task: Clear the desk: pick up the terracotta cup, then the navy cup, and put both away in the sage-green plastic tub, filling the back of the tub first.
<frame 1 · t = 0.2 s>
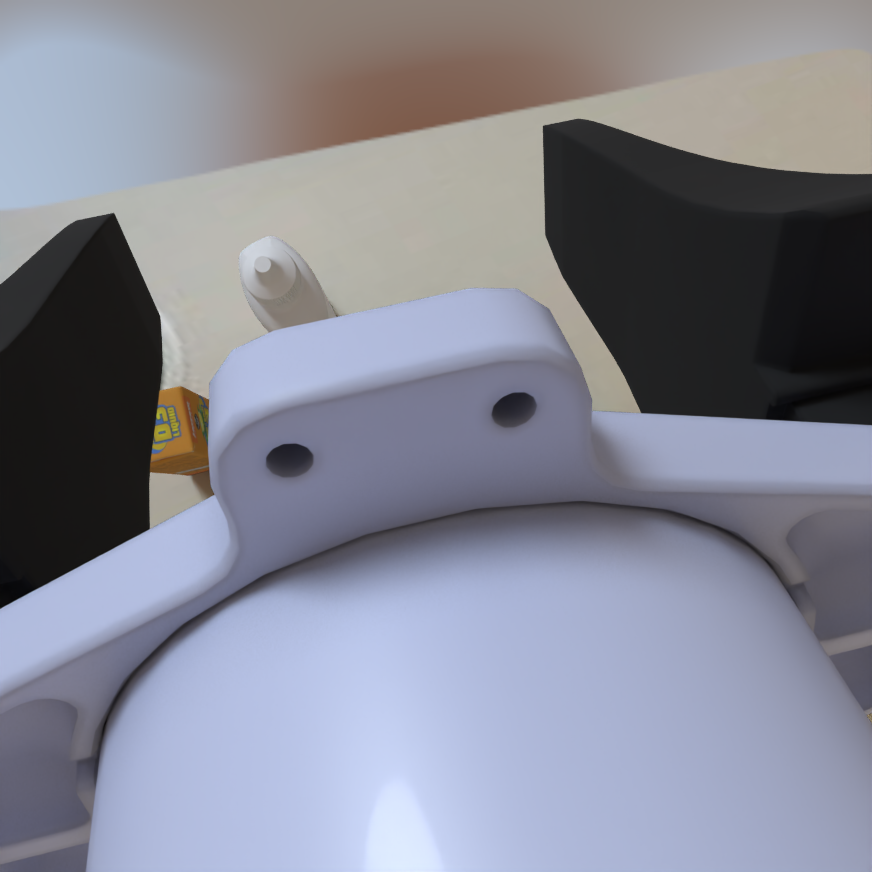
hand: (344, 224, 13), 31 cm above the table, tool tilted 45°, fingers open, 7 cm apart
eye dropper bottle: (306, 323, 45), on the table
supplement box: (211, 440, 44), on the table
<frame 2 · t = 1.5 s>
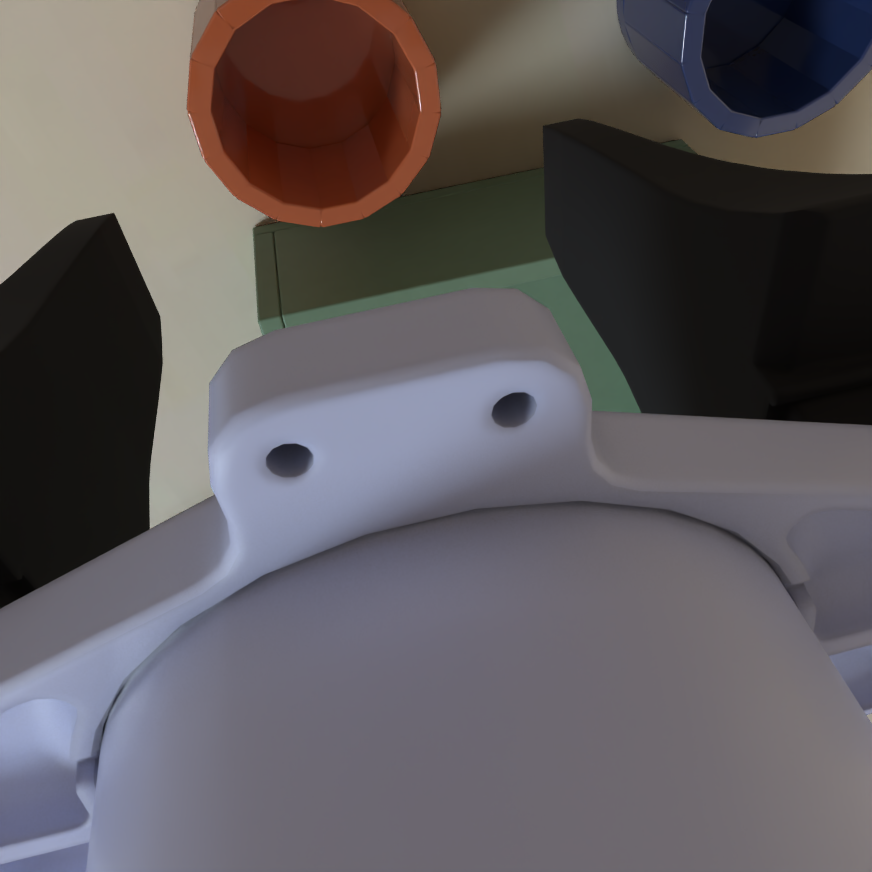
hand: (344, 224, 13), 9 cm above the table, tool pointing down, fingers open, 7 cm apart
terracotta cup: (304, 51, 20), on the table
sage tub: (490, 397, 29), on the table
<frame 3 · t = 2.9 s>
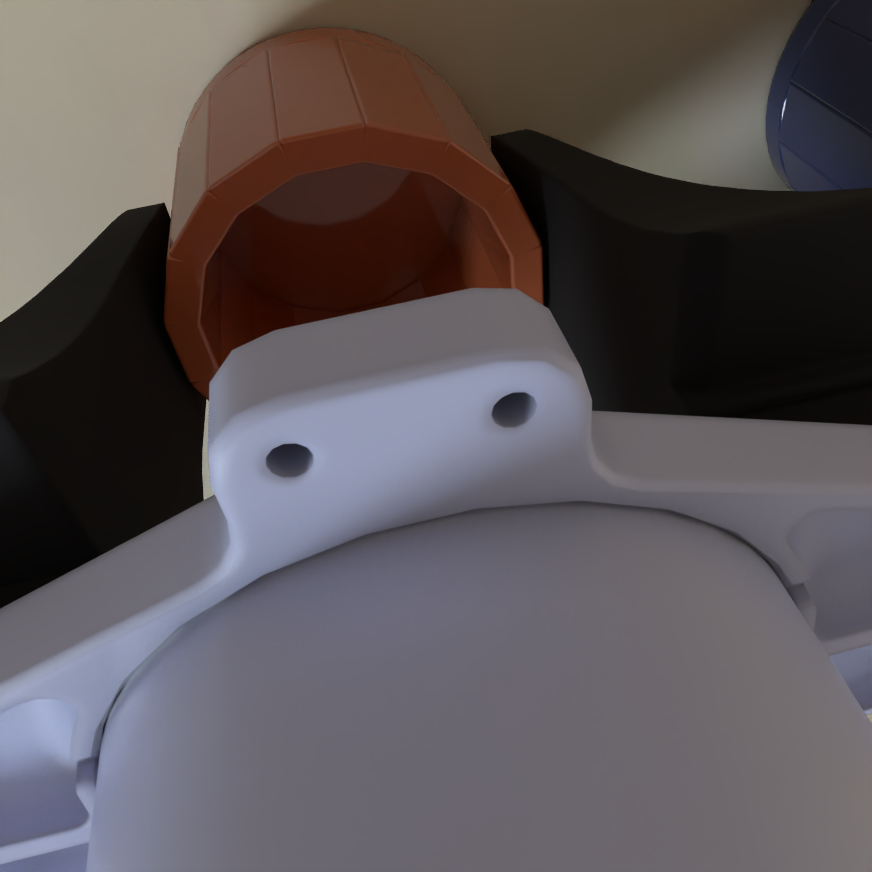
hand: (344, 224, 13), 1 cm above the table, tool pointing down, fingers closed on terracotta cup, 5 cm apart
terracotta cup: (333, 188, 14), on the table, touching gripper
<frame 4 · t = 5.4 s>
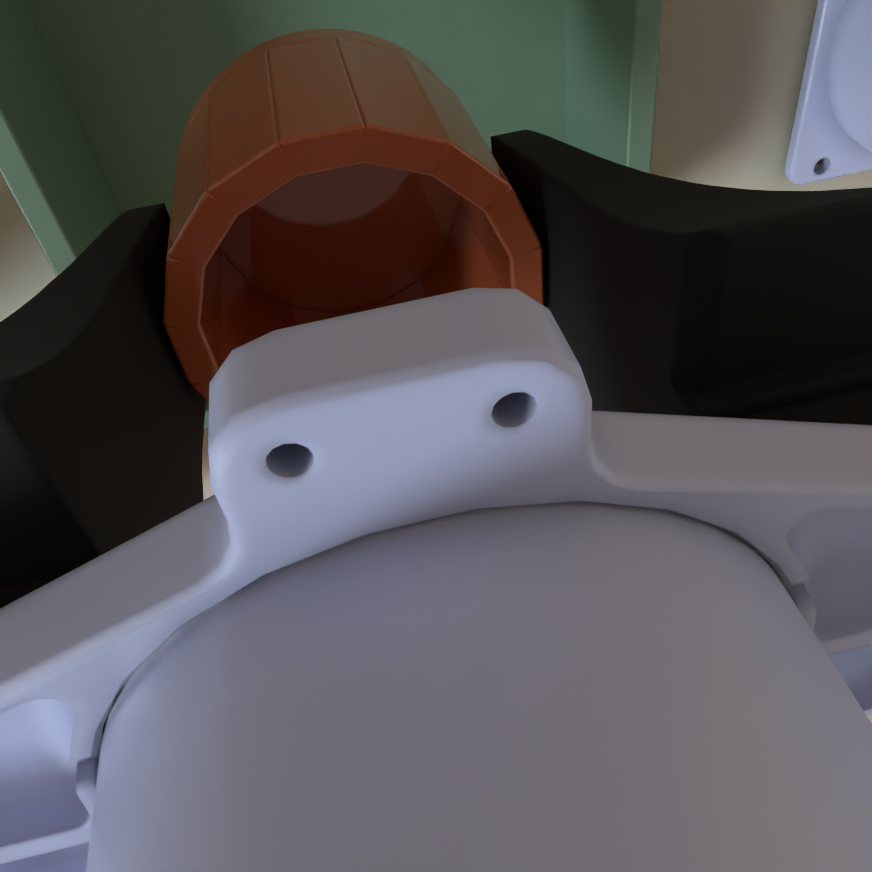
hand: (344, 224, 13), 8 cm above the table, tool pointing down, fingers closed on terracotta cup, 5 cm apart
terracotta cup: (333, 188, 14), point 7 cm above the table, touching gripper
when the fingers open (2 cm above the table, at t = 7.9 s): terracotta cup stays where it is, resting on sage tub.
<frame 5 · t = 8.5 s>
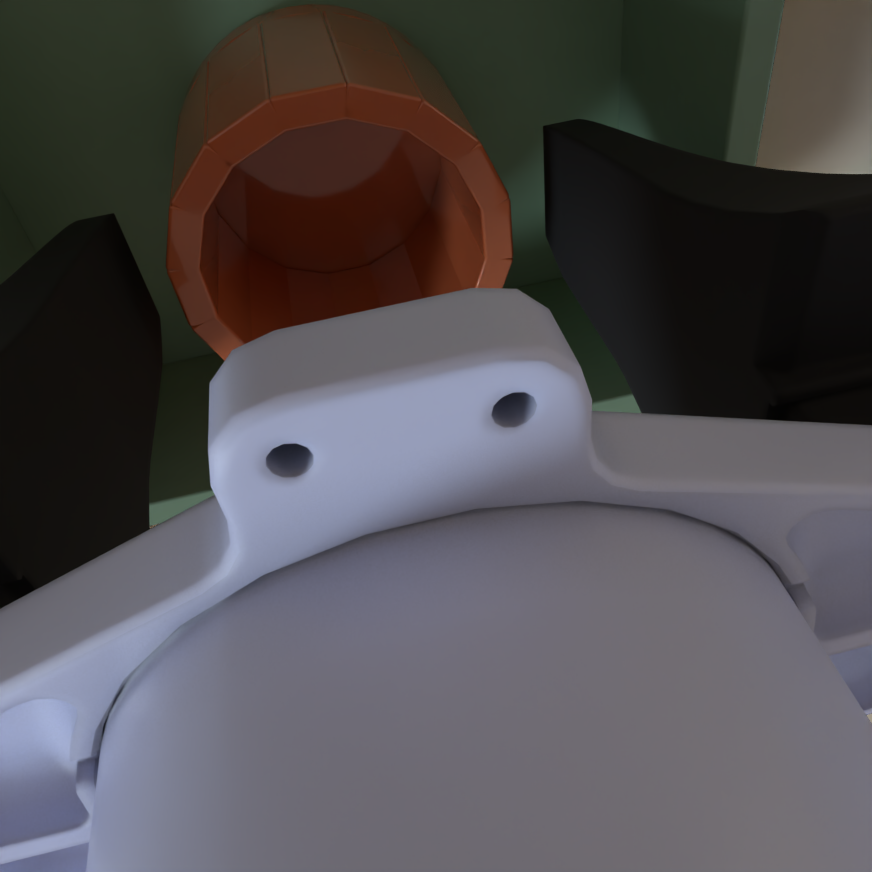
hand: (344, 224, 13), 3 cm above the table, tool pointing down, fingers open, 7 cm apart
terracotta cup: (322, 156, 15), resting on sage tub
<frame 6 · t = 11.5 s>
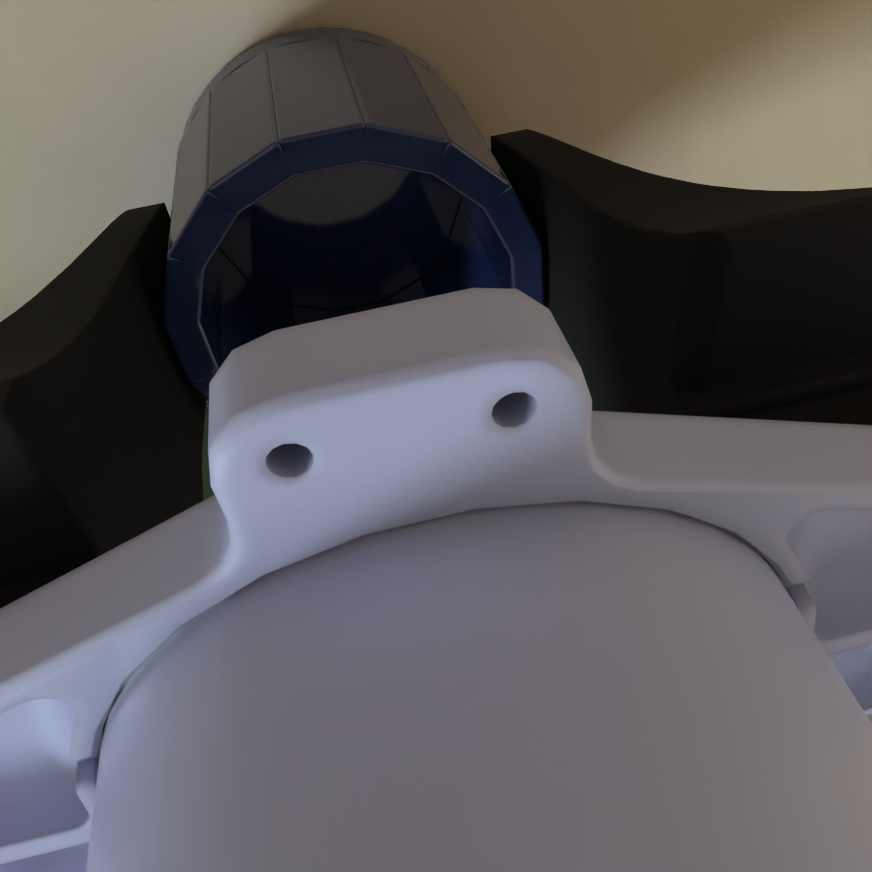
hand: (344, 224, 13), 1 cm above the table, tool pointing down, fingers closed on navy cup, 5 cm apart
sage tub: (192, 649, 23), on the table
navy cup: (333, 188, 14), on the table, touching gripper
when the fingers open (2 cm above the table, at t = 15.8 s): navy cup stays where it is, resting on sage tub.
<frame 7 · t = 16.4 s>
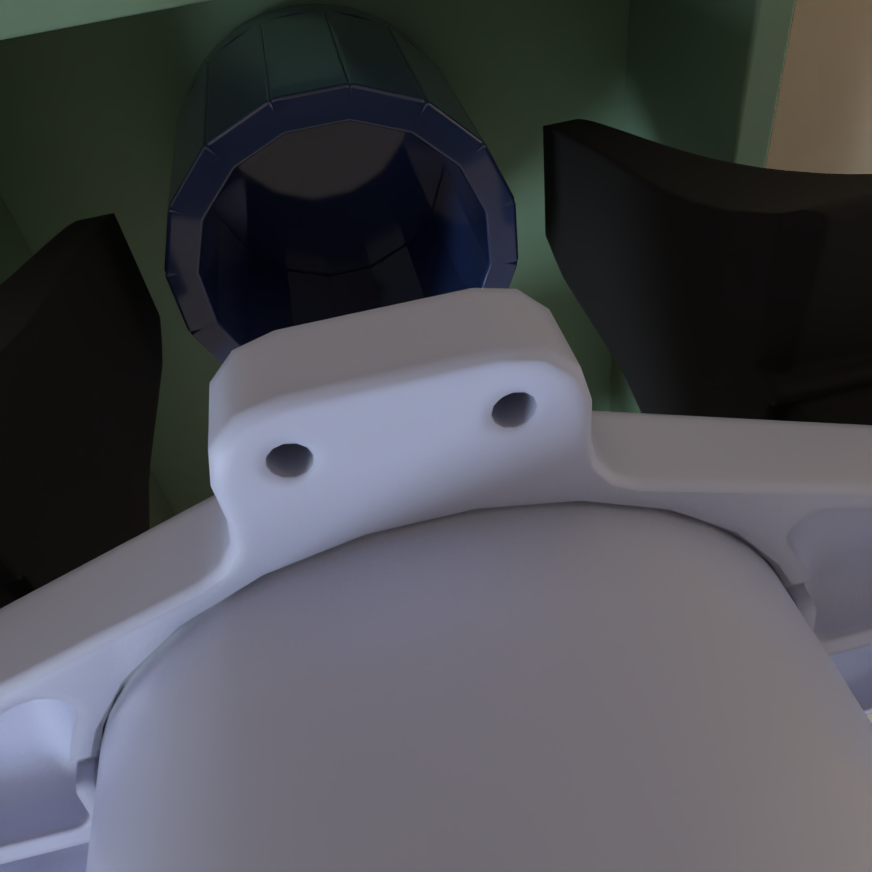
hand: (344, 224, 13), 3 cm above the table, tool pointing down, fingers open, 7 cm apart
sage tub: (362, 313, 18), on the table
navy cup: (324, 157, 15), resting on sage tub
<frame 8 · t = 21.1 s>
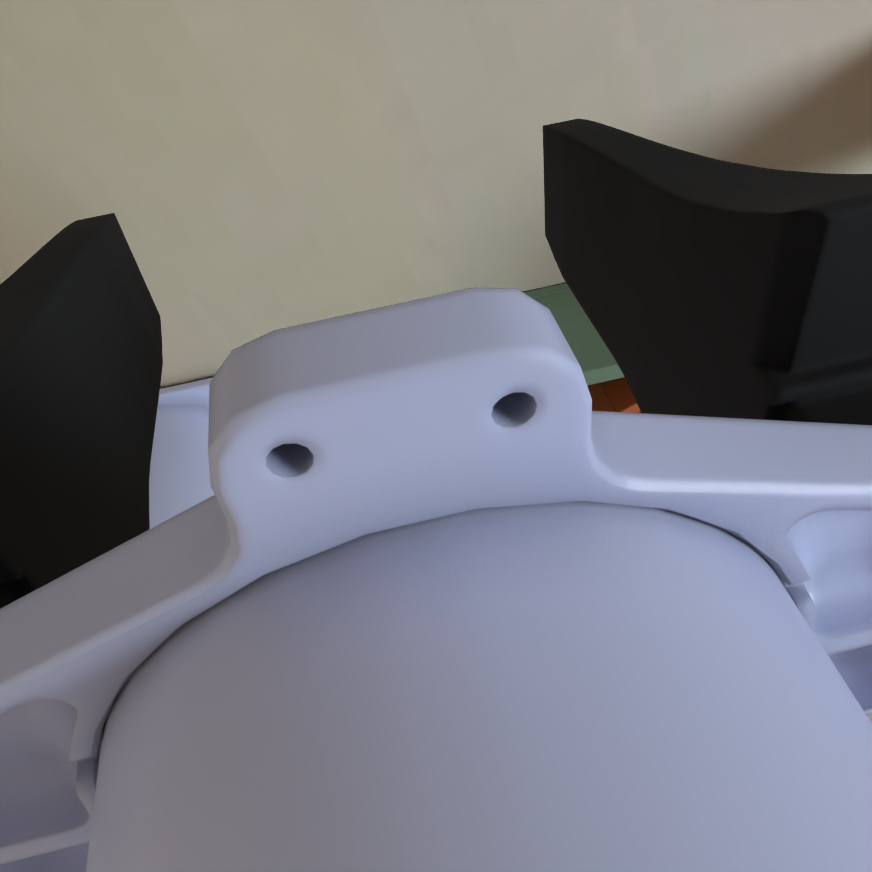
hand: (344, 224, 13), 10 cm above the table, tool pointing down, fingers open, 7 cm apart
terracotta cup: (613, 378, 31), resting on sage tub
sage tub: (604, 442, 34), on the table
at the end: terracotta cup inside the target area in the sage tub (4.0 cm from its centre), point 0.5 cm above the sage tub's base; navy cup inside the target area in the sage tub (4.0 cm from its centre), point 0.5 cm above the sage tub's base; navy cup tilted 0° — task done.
